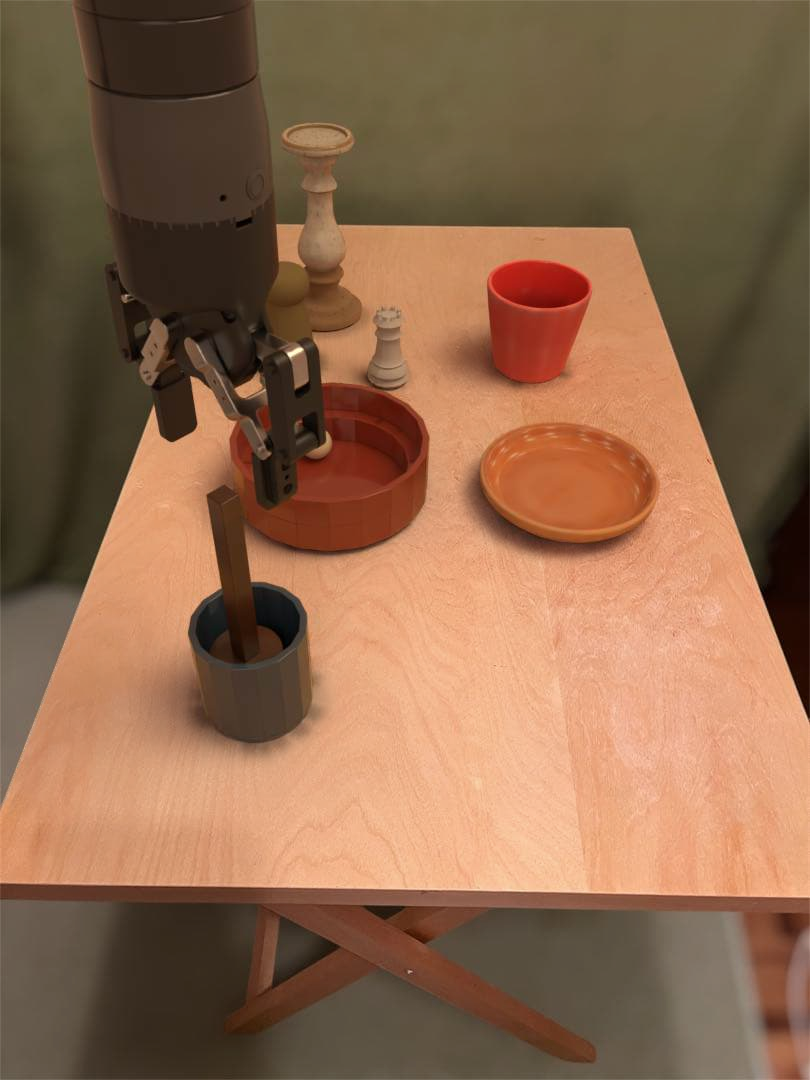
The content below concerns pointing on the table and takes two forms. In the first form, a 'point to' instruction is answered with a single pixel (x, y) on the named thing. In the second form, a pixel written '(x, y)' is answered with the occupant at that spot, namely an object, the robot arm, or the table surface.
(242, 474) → the bowl
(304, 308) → the brown peg figure
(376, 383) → the rook chess piece
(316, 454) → the dough ball
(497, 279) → the flower pot
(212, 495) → the wooden pestle
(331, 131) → the candle holder
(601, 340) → the table surface
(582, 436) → the saucer
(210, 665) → the crock
